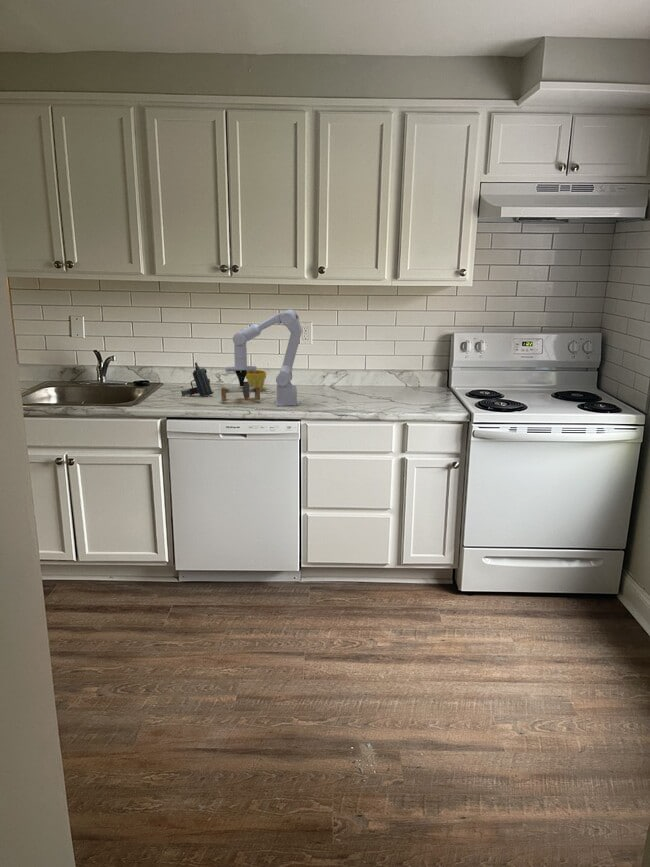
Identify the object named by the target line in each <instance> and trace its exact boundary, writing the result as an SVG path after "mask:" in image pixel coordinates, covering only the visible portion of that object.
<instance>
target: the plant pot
mask: <svg viewBox="0 0 650 867" xmlns="http://www.w3.org/2000/svg"><path fill="white" fill-rule="evenodd" d="M266 378H267V371H265V370H262V369H257V371H247V374H246V377H245V379H246V380H247V381H246V382H248V383H249V387H255V386H259V387H260V392H262V391H263V390H264V385H265V380H266Z"/></svg>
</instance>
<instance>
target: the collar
mask: <svg viewBox="0 0 650 867" xmlns="http://www.w3.org/2000/svg"><path fill="white" fill-rule="evenodd" d="M243 387H244V392H242V395H243V398H251V397H250V392H249V383H248V381H244V383H243Z"/></svg>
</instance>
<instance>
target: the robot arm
mask: <svg viewBox="0 0 650 867" xmlns="http://www.w3.org/2000/svg"><path fill="white" fill-rule="evenodd" d="M277 324H278V325H281V324H282V325H283V326H285V327H286V329H287V330H289V332H290V335H289V339H288V342H287V345H286V346H287V347H286V351H285V354H284V356H283V357H284V358H283V362H282V365H281V368H280V370H279V373H278V374H277V375H276V377H275V382H276V400H275V401H274V403H275V405H276V406H277V407H280V406H281V407H286V406H298V404H297V403H298V398H297V396H298V392H297V390H298V389H297V385H293V384H292V382H291V381H292V380H293V366H294V363H295V360H296V359H295V358H296V356H297V352H298V347H299V344H300V341H301V336H302V332H303V329H302V325H301V322H300V317H299V315H298V314H297V312H296V311H295V310H294V309H289V308H288V309H287V310H285V311H282V312H278V313H276V314H274V315H272V316H271V317H269V318H267V319H265V320H264V321H262V322H260V323H259V324H256V323H249V324H248V326H247V327H245V328H244V329H240V331H238V332H236V333H235V334H234V335H233V336H232V342H233V344H234V351H233V354H234V366H225V368H224V371H225V373H228V372H235V374H236V377H237V379H238V382H239V387H243V383H244V382H245V379H246V374H247V371H257V370H258V369H257V366H253V365H248V358H247V357H248V352H247V350H248V349H247V342H249V341H252V340H253V339H255V338H257V337H259V336H260V335H261V333H262V331H264V330H266V329H268V328H270V327H272V326H273V325H277Z"/></svg>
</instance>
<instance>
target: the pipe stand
mask: <svg viewBox="0 0 650 867" xmlns="http://www.w3.org/2000/svg"><path fill="white" fill-rule="evenodd" d="M243 392H244V387H240V386H238V387H237V386H236V387H234V386H233V387H225V386H220V394H221V396H220V397H221V400H220V401H221V404H222V405H239V404H242V405H243V404H260V403H261V391H260V387H259V386H255V387H249V393H253V392H254V397H250V398H244V397H236V398H235V397H234V398H233V397H232V398H229V397H228V398H227V393H228V394H229V393H231V394H233V393H243Z"/></svg>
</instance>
